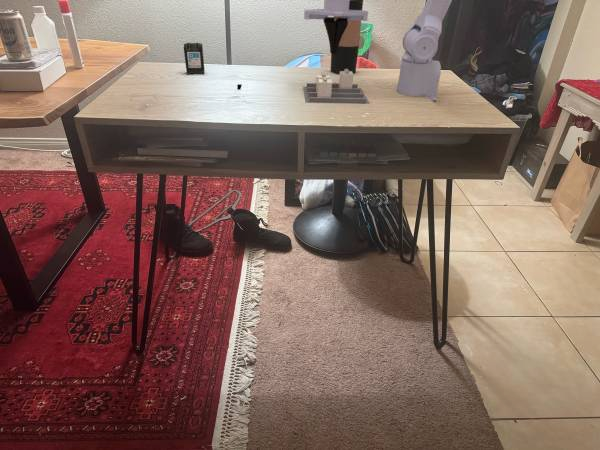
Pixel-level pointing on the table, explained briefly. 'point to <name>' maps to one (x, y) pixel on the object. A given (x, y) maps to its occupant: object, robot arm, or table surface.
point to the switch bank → (336, 95)
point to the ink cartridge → (194, 58)
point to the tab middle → (321, 78)
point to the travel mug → (348, 43)
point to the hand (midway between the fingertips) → (333, 52)
